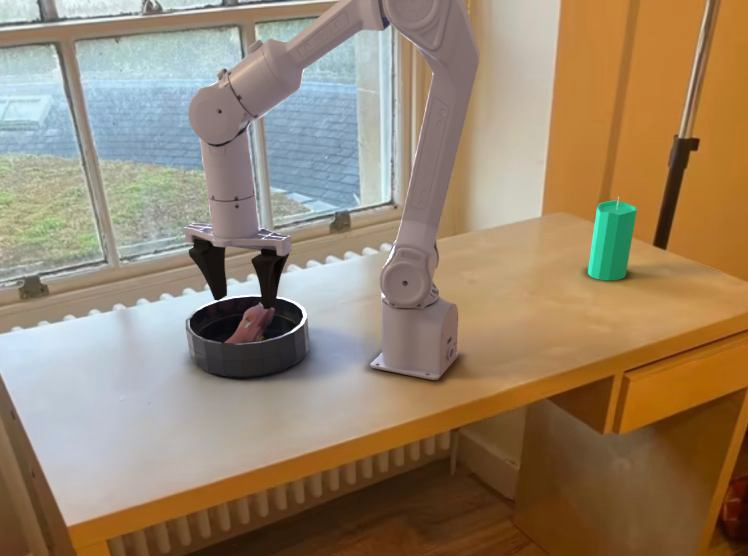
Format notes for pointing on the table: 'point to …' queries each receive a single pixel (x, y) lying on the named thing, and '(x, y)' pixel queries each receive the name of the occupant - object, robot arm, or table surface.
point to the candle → (611, 240)
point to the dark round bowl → (245, 360)
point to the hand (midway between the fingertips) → (245, 302)
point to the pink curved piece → (253, 325)
